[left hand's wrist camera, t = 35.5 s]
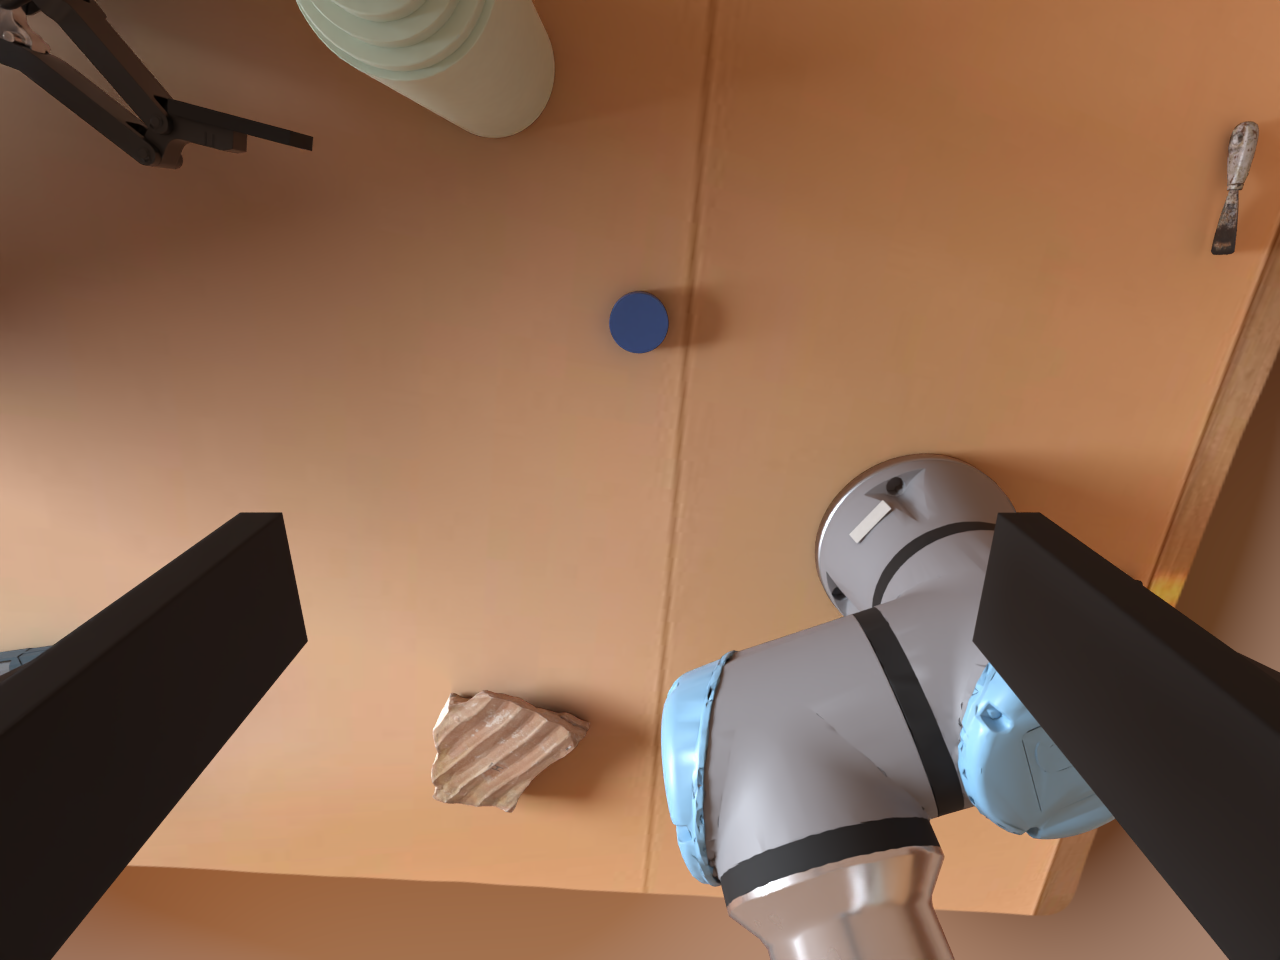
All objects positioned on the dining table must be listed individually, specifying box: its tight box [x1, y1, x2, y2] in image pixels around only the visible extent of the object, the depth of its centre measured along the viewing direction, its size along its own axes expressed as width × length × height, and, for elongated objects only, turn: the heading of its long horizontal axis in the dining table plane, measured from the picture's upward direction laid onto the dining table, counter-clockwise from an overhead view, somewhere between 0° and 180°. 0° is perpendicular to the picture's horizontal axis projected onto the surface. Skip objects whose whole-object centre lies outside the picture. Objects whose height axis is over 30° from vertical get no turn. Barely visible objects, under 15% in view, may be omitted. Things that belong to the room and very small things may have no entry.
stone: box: [431, 690, 590, 812], centre depth 59 cm, size 13×12×3 cm
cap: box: [609, 291, 668, 353], centre depth 47 cm, size 4×4×2 cm
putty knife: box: [1211, 121, 1259, 255], centre depth 44 cm, size 1×8×2 cm, turn 6°
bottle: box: [296, 0, 555, 138], centre depth 31 cm, size 8×8×24 cm
